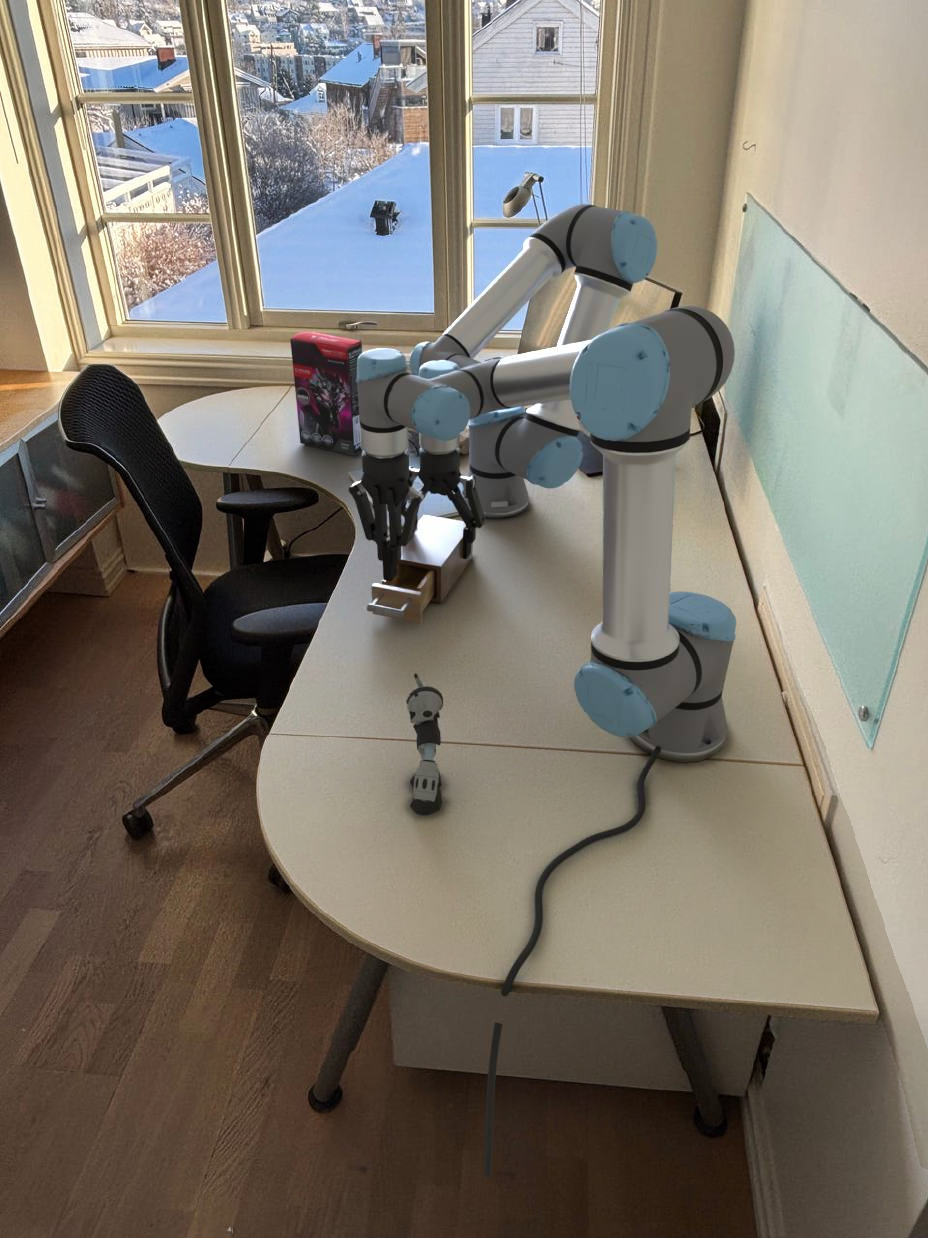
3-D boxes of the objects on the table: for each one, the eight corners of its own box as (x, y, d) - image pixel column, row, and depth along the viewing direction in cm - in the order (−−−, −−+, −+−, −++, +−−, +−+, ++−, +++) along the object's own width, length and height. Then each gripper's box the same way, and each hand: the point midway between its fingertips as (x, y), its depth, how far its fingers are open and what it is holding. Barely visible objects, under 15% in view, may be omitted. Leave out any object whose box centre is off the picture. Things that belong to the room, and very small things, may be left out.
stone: (382, 437, 229) (387, 414, 227) (402, 429, 243) (406, 406, 240) (461, 462, 226) (467, 438, 223) (477, 452, 239) (482, 429, 237)
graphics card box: (297, 444, 233) (287, 336, 218) (313, 435, 239) (304, 329, 223) (354, 457, 227) (347, 347, 212) (369, 447, 232) (364, 339, 217)
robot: (446, 845, 123) (445, 731, 112) (409, 846, 123) (405, 732, 112) (441, 747, 139) (440, 638, 128) (409, 747, 139) (405, 639, 128)
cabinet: (441, 603, 172) (441, 566, 168) (389, 593, 175) (387, 556, 171) (472, 557, 187) (473, 522, 183) (424, 548, 190) (423, 514, 186)
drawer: (409, 639, 160) (408, 610, 157) (360, 629, 163) (358, 600, 160) (452, 577, 178) (453, 550, 175) (408, 568, 181) (407, 542, 178)
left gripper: (504, 447, 171) (501, 552, 183) (390, 431, 177) (393, 533, 189) (492, 463, 165) (489, 570, 177) (374, 445, 171) (379, 550, 183)
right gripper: (431, 446, 147) (433, 572, 160) (357, 435, 151) (364, 560, 164) (414, 464, 141) (417, 594, 154) (337, 452, 145) (346, 580, 158)
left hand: (440, 551), depth 183 cm, fingers closed on cabinet, 10 cm apart
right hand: (390, 576), depth 159 cm, fingers closed
